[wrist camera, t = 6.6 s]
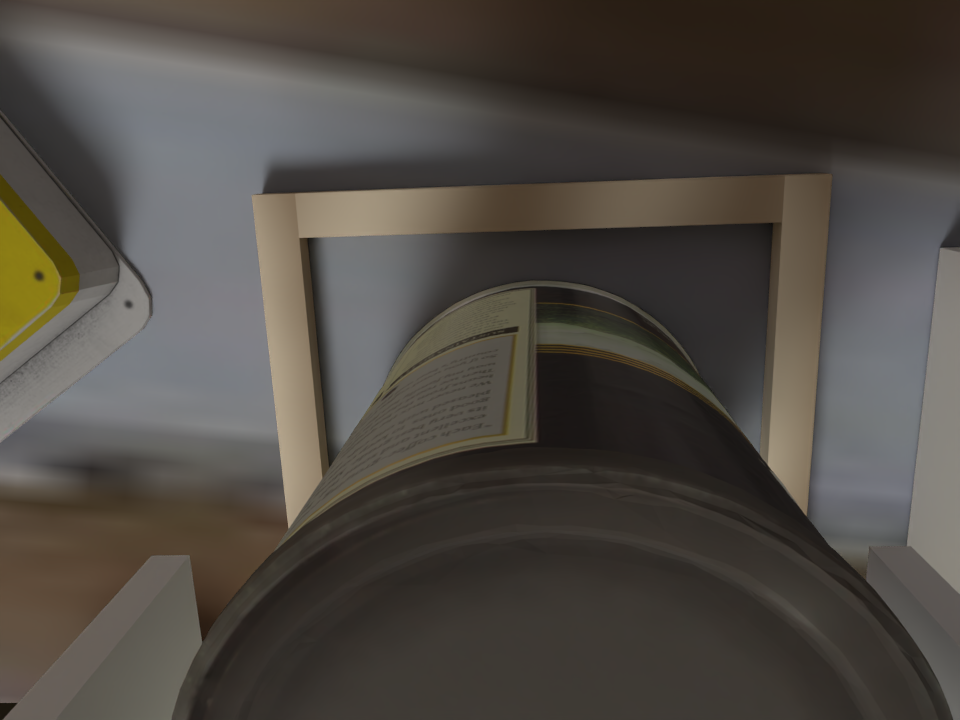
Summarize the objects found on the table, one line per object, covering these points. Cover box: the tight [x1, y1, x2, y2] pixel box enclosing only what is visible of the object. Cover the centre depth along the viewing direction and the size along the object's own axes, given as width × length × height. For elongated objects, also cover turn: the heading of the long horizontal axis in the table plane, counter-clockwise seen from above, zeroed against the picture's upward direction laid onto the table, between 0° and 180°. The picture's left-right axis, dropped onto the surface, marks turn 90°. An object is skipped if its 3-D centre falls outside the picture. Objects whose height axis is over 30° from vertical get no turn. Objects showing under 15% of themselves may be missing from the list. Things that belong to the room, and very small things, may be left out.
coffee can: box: [171, 280, 953, 720], centre depth 17 cm, size 10×10×14 cm
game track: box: [252, 173, 832, 528], centre depth 25 cm, size 15×30×1 cm, turn 2°
